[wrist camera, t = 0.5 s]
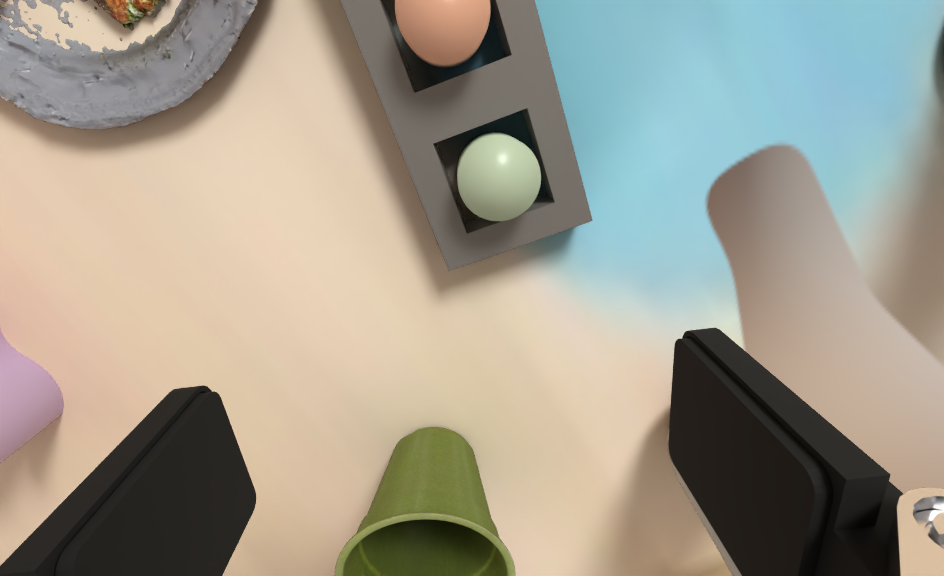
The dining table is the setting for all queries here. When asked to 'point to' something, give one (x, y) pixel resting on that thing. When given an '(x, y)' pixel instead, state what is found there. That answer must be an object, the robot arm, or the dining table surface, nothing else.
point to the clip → (24, 399)
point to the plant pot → (428, 516)
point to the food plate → (117, 63)
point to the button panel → (469, 106)
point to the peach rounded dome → (443, 28)
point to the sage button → (498, 176)
